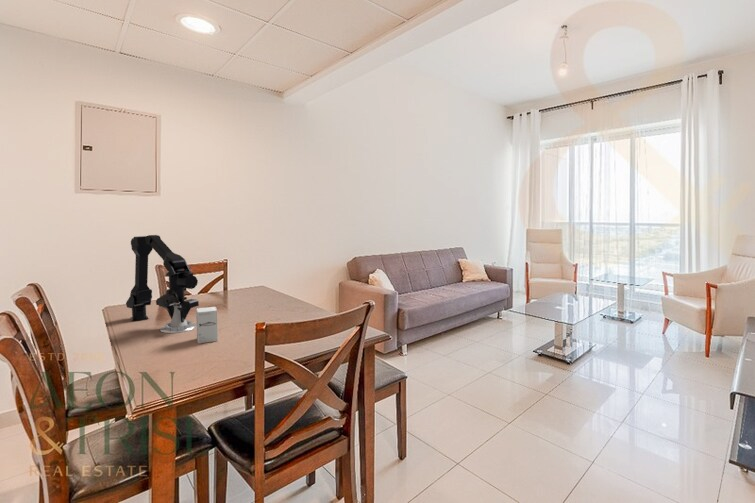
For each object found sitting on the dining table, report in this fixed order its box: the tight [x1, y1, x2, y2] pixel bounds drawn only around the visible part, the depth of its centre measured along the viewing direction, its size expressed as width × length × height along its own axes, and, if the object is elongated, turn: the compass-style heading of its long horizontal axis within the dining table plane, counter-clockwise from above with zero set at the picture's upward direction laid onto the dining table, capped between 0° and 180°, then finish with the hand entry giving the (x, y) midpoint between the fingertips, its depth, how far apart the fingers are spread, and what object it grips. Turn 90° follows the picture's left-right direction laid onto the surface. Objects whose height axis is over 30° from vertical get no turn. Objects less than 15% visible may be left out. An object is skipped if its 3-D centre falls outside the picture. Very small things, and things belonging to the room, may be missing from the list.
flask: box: [169, 304, 188, 327], centre depth 164 cm, size 7×7×10 cm
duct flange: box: [159, 319, 197, 334], centre depth 164 cm, size 14×14×2 cm
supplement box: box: [195, 306, 219, 344], centre depth 149 cm, size 7×7×13 cm
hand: (178, 321), depth 164 cm, fingers closed on flask, 5 cm apart
